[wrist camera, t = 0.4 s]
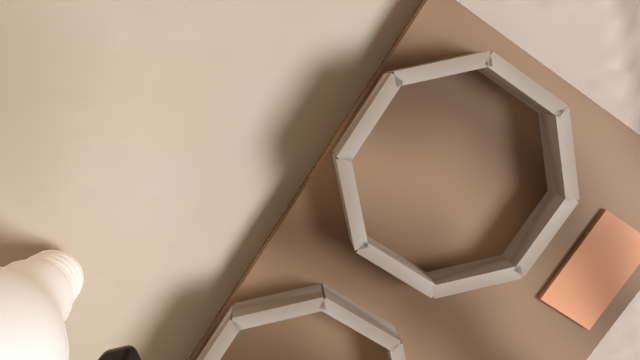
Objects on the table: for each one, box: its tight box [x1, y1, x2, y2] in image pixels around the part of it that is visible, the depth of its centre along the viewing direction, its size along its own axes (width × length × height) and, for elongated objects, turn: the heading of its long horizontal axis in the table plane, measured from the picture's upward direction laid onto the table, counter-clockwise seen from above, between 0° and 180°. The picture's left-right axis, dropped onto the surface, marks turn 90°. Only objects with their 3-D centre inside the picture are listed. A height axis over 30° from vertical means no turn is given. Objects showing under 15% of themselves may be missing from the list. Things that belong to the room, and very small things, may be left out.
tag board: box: [189, 0, 640, 360], centre depth 24 cm, size 24×16×2 cm, turn 147°
